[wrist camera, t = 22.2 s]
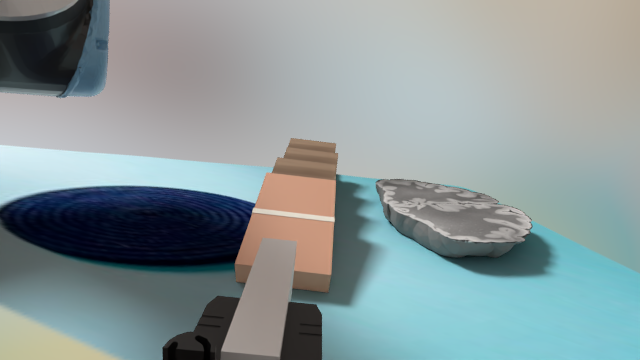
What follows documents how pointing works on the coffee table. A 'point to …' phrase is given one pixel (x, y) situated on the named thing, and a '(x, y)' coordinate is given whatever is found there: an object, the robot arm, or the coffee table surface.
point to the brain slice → (452, 218)
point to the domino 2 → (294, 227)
